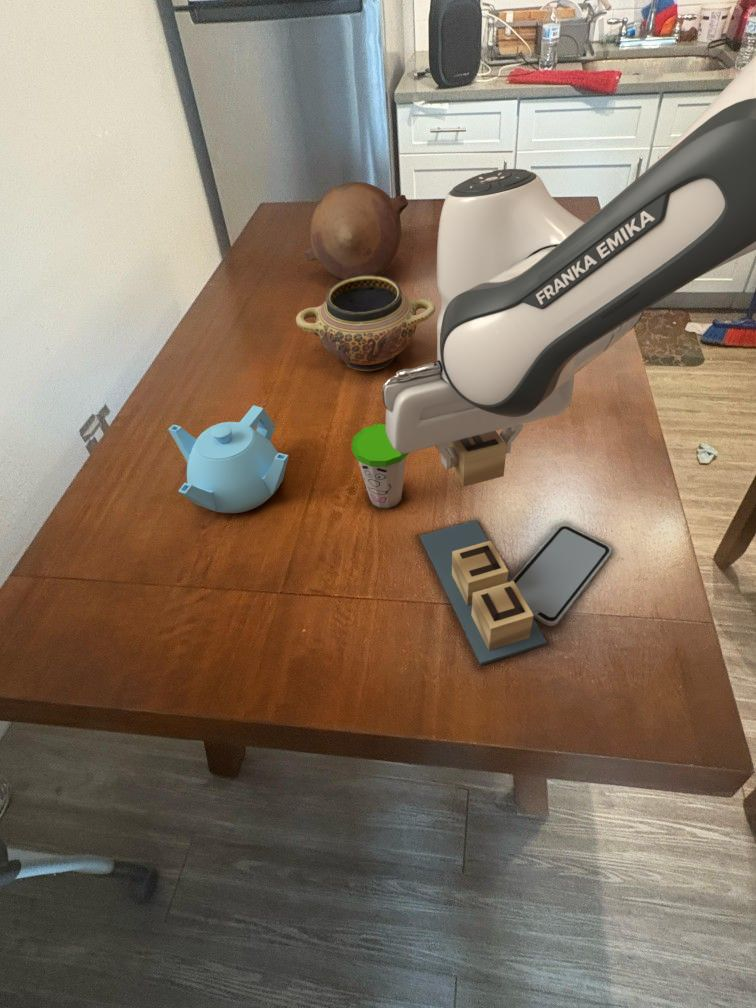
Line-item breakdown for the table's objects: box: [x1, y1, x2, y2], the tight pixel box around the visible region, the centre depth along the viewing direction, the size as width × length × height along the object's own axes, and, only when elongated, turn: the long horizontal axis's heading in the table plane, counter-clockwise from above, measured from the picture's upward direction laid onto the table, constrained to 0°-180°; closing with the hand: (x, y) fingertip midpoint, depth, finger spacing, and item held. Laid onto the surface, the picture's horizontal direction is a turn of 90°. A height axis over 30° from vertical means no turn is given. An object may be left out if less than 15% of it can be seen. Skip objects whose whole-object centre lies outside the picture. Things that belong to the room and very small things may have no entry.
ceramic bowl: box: [295, 275, 436, 372], centre depth 108 cm, size 24×18×15 cm
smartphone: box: [510, 524, 612, 627], centre depth 75 cm, size 7×1×15 cm
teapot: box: [168, 404, 289, 514], centre depth 87 cm, size 15×15×11 cm
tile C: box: [471, 581, 534, 650], centre depth 68 cm, size 5×5×5 cm
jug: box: [304, 181, 409, 281], centre depth 133 cm, size 20×20×30 cm
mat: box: [419, 519, 547, 666], centre depth 74 cm, size 20×8×1 cm, turn 17°
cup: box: [351, 423, 410, 509], centre depth 81 cm, size 8×8×15 cm
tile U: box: [452, 540, 509, 605], centre depth 72 cm, size 5×5×5 cm
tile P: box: [450, 431, 507, 488], centre depth 69 cm, size 5×5×5 cm
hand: (476, 457), depth 69 cm, fingers closed on tile P, 5 cm apart
